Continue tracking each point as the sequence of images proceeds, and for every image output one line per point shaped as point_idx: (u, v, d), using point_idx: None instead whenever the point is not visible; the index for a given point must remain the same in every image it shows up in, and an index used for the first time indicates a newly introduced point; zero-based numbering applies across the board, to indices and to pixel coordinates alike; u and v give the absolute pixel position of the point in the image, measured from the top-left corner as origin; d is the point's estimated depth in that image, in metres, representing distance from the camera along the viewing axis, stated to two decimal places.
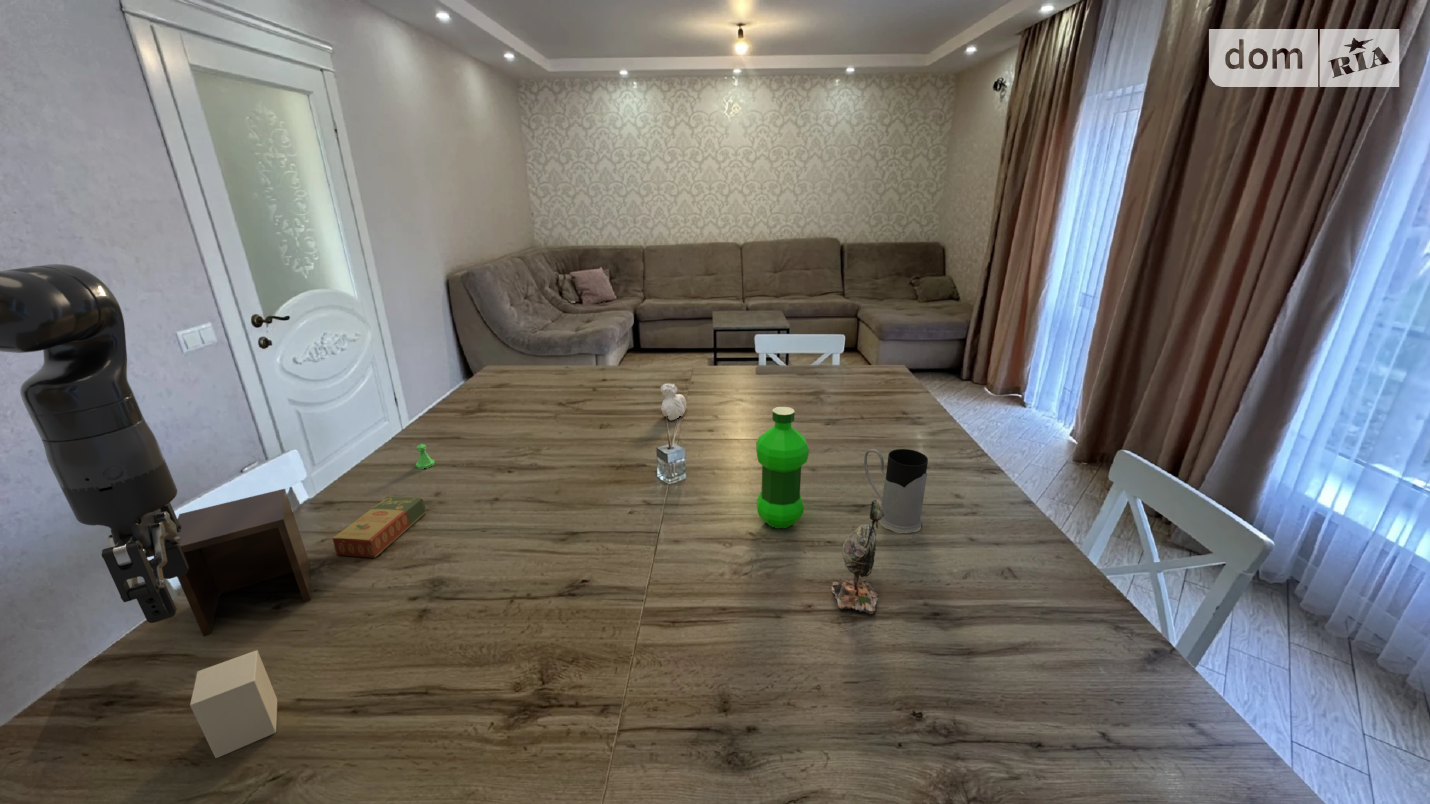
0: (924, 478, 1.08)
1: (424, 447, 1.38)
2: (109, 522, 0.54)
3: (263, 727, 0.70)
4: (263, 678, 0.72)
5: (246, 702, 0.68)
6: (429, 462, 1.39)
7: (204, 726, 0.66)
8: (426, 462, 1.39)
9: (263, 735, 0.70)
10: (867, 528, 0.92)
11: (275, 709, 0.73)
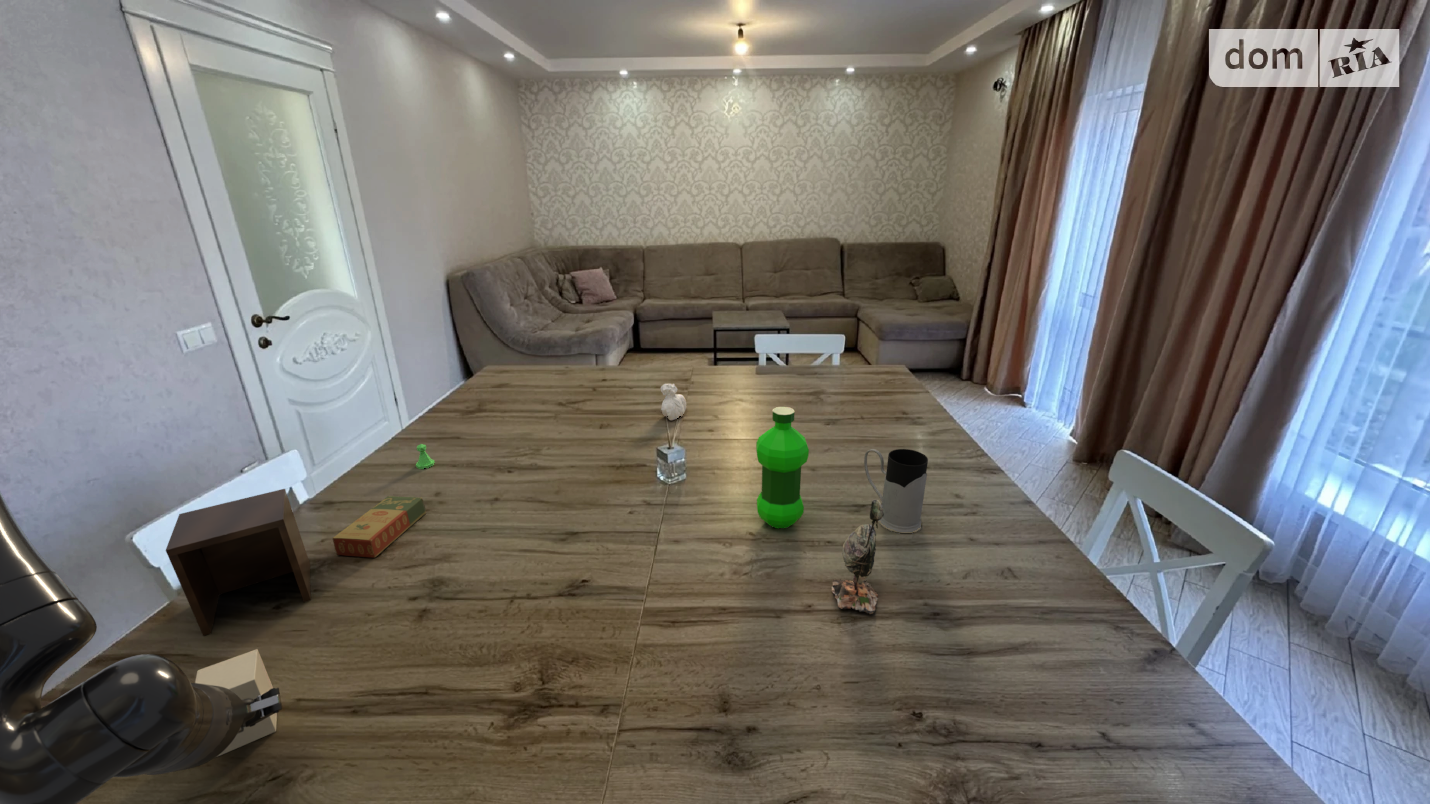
0: (924, 478, 1.08)
1: (424, 447, 1.38)
2: None
3: (263, 726, 0.70)
4: (263, 677, 0.72)
5: None
6: (429, 462, 1.39)
7: None
8: (426, 462, 1.39)
9: (263, 734, 0.70)
10: (867, 528, 0.92)
11: None
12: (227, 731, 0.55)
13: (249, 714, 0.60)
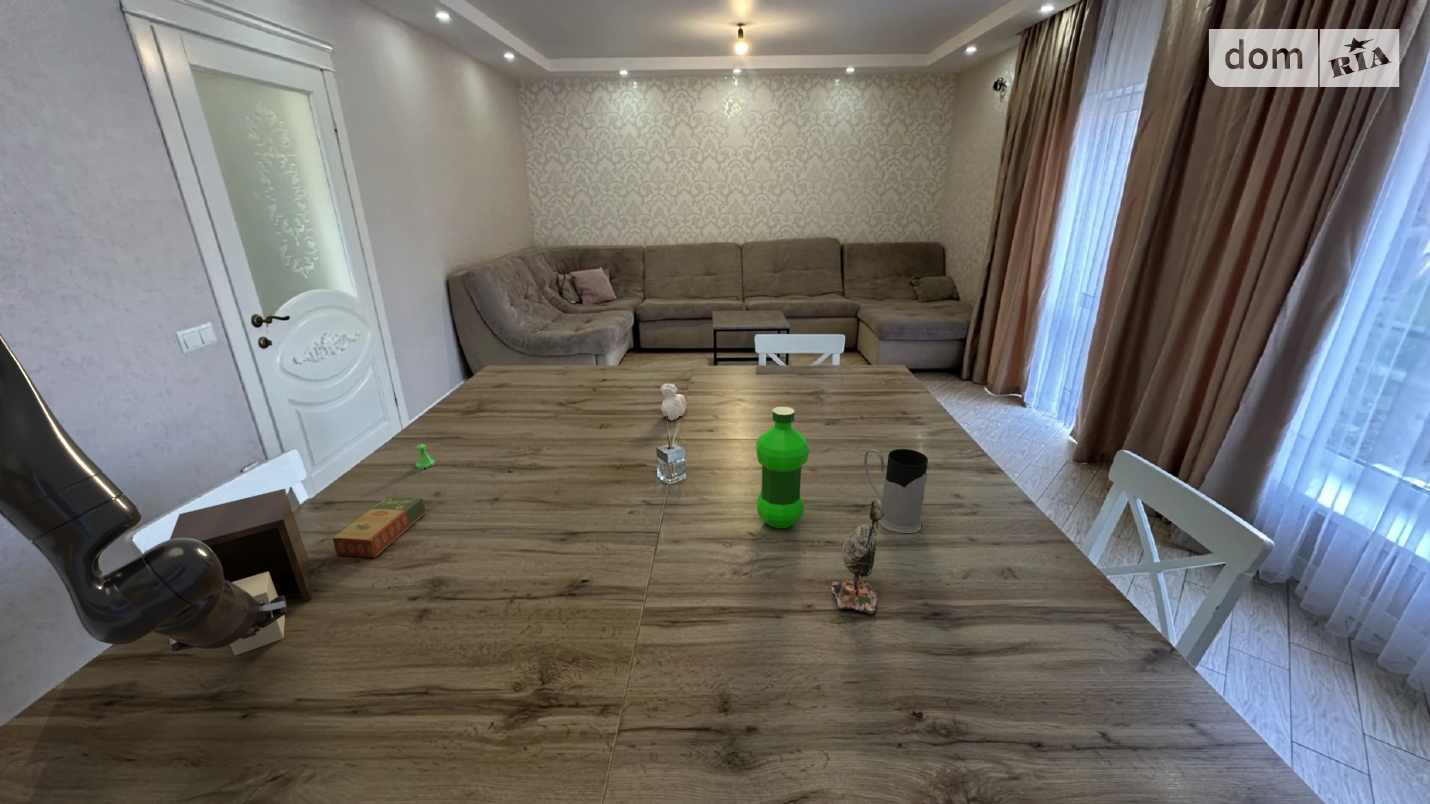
0: (924, 478, 1.08)
1: (424, 447, 1.38)
2: None
3: (273, 633, 0.85)
4: (273, 594, 0.87)
5: None
6: (429, 462, 1.39)
7: None
8: (426, 462, 1.39)
9: (273, 639, 0.85)
10: (867, 528, 0.92)
11: (283, 621, 0.88)
12: (245, 618, 0.70)
13: (261, 612, 0.75)
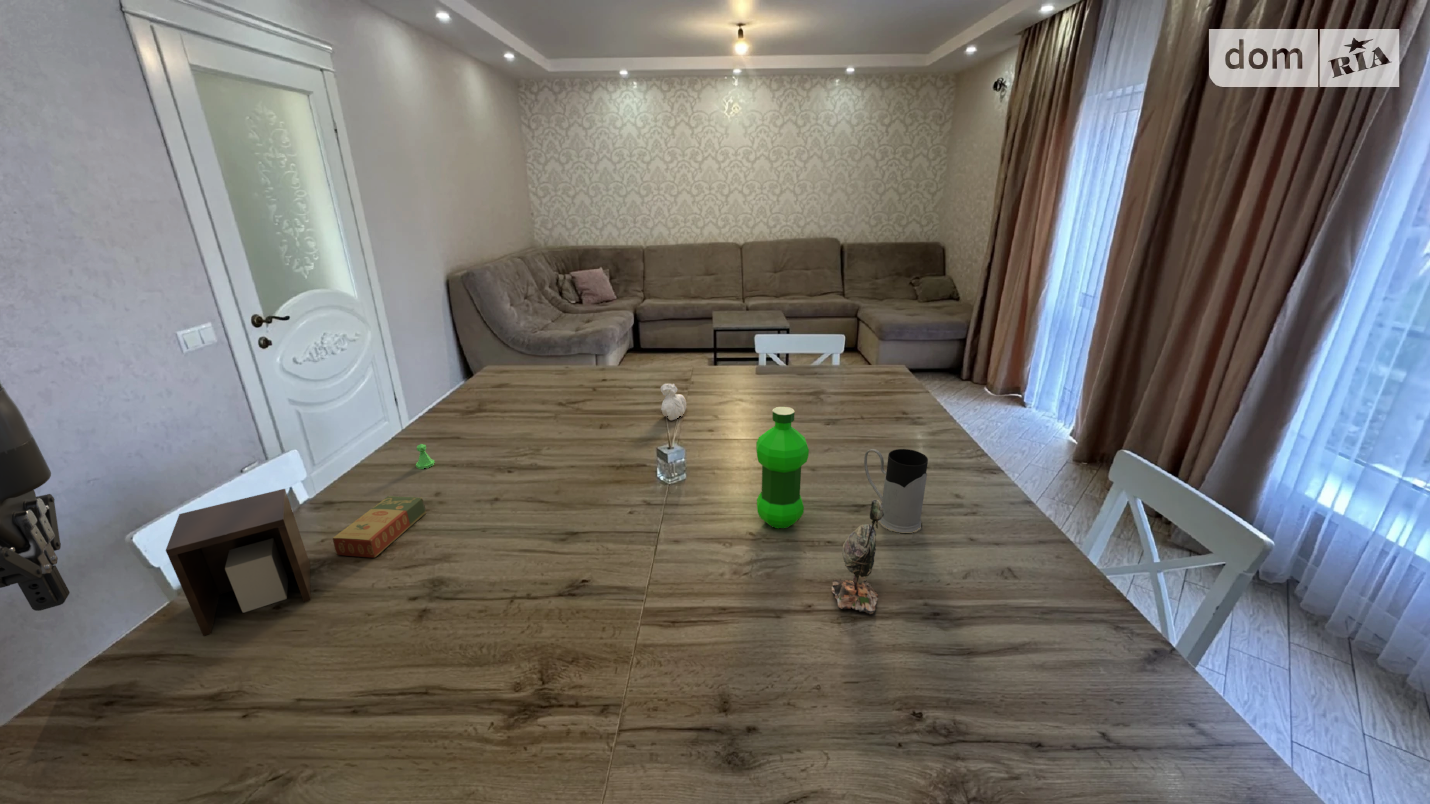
0: (924, 478, 1.08)
1: (424, 447, 1.38)
2: None
3: (277, 593, 0.93)
4: (277, 558, 0.95)
5: (265, 572, 0.91)
6: (429, 462, 1.39)
7: (234, 586, 0.89)
8: (426, 462, 1.39)
9: (277, 599, 0.94)
10: (867, 528, 0.92)
11: (286, 584, 0.97)
12: None
13: None
